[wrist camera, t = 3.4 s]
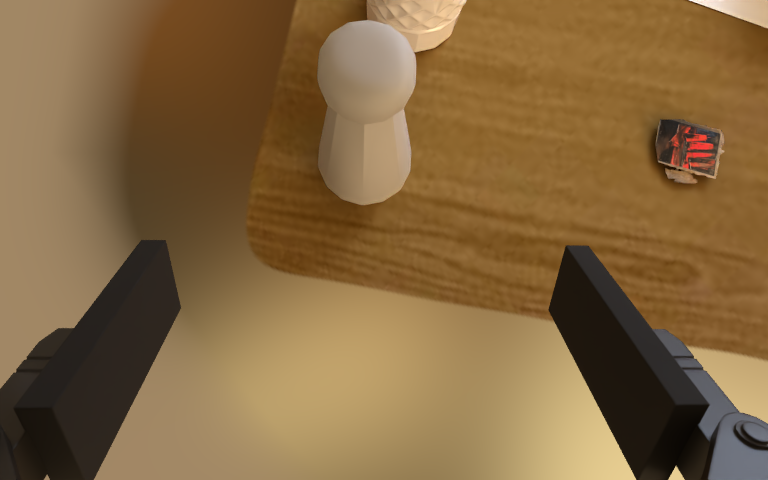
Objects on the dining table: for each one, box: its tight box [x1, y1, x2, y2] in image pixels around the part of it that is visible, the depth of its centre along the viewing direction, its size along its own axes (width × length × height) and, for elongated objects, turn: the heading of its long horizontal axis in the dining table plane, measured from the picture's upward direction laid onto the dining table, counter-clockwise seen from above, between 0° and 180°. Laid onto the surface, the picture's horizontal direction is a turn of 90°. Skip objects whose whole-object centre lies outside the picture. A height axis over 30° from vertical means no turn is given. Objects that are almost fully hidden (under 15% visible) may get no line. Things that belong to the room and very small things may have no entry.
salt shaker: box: [317, 20, 416, 205], centre depth 26 cm, size 6×6×13 cm
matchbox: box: [653, 119, 725, 183], centre depth 34 cm, size 5×5×1 cm
